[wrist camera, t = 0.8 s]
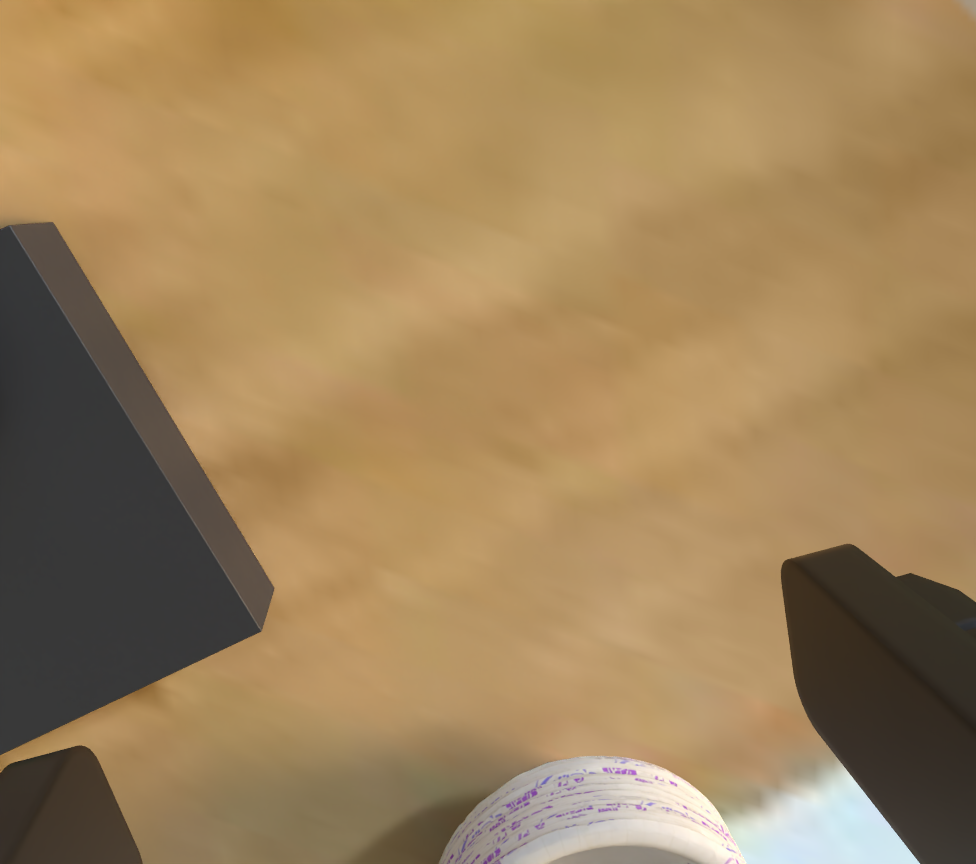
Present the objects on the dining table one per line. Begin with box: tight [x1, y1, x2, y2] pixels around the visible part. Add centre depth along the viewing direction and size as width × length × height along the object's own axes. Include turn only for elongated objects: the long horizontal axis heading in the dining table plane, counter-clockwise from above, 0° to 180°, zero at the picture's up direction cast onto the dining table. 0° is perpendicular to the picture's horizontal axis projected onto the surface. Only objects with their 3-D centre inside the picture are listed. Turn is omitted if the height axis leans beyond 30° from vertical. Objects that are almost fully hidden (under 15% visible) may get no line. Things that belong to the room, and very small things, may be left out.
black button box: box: [0, 222, 274, 755], centre depth 33 cm, size 18×13×6 cm
